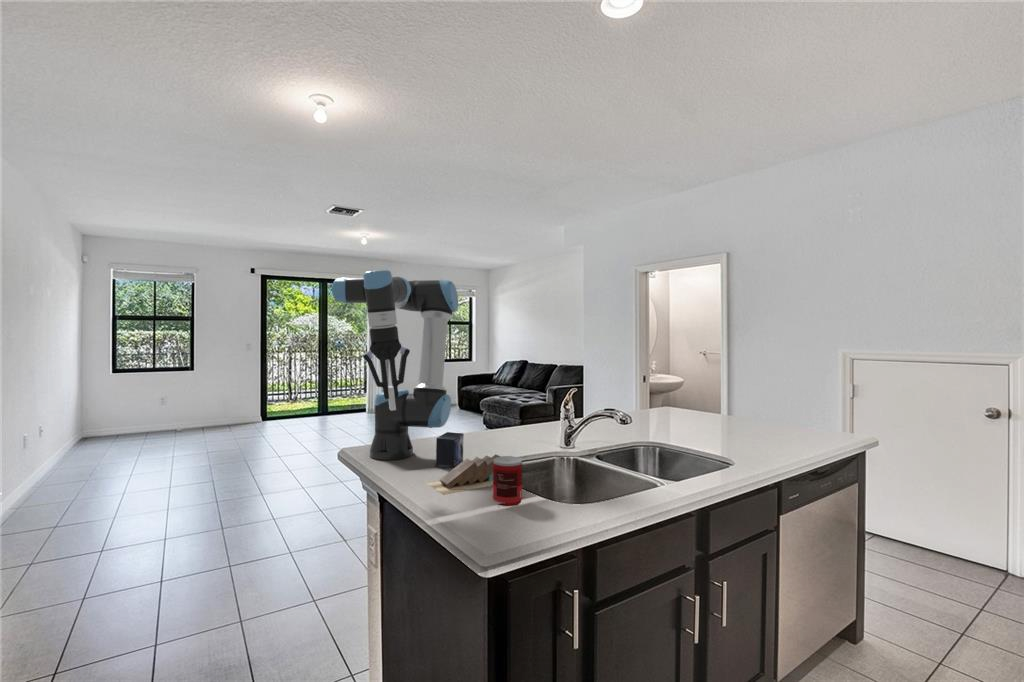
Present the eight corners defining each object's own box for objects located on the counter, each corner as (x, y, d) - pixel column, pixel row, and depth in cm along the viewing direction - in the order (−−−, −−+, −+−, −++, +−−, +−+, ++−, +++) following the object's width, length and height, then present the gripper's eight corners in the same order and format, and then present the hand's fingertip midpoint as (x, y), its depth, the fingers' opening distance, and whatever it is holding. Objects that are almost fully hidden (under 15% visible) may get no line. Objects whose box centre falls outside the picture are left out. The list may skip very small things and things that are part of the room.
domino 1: (439, 479, 139) (466, 458, 144) (441, 483, 139) (469, 462, 144) (447, 484, 135) (475, 462, 140) (449, 488, 135) (477, 466, 140)
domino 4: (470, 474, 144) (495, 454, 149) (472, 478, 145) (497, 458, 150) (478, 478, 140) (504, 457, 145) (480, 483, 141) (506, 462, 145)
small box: (454, 472, 155) (454, 439, 155) (434, 470, 157) (435, 438, 157) (464, 463, 166) (464, 432, 166) (445, 462, 167) (446, 431, 167)
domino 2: (449, 477, 141) (476, 456, 146) (452, 482, 141) (479, 461, 146) (457, 482, 137) (485, 460, 141) (460, 486, 137) (487, 465, 142)
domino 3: (460, 475, 143) (486, 455, 147) (462, 480, 143) (488, 459, 148) (468, 480, 138) (494, 459, 143) (470, 484, 139) (497, 463, 144)
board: (425, 486, 140) (425, 482, 140) (477, 477, 150) (477, 473, 150) (443, 498, 130) (443, 494, 130) (498, 487, 140) (498, 484, 140)
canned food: (511, 494, 134) (511, 454, 134) (528, 503, 127) (528, 461, 127) (487, 499, 130) (487, 458, 130) (502, 508, 123) (503, 465, 123)
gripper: (359, 330, 130) (370, 416, 133) (409, 325, 134) (418, 408, 138) (357, 328, 137) (367, 410, 140) (404, 323, 141) (413, 402, 145)
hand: (392, 409), depth 139 cm, fingers closed
